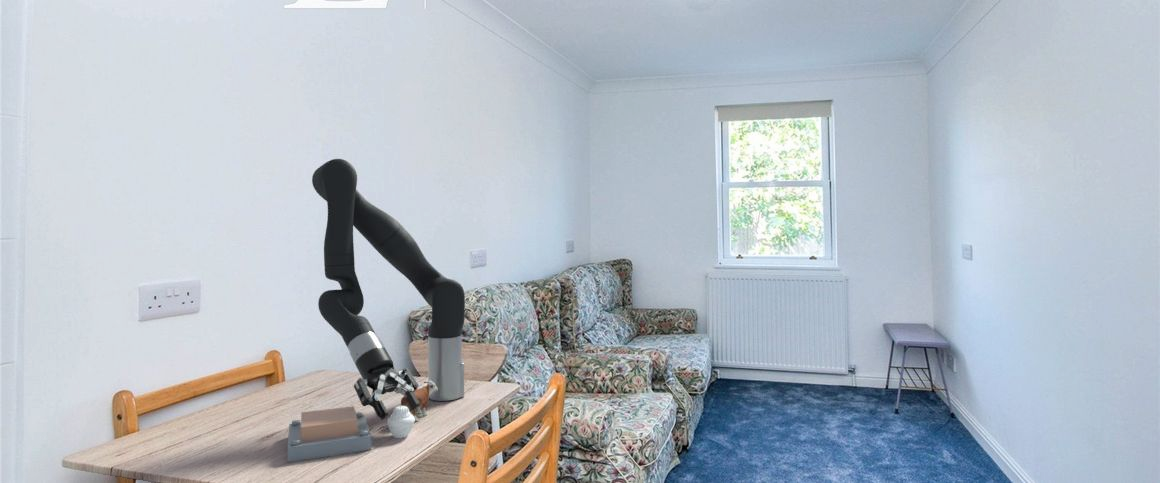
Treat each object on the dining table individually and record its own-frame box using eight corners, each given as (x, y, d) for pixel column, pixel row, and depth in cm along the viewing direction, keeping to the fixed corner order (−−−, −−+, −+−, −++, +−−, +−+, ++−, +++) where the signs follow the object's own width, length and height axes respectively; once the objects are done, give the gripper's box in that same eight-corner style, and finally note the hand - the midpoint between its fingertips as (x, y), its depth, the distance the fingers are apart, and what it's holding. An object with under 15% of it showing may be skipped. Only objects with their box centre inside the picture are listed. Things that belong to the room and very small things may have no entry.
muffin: (384, 434, 135) (384, 403, 135) (411, 429, 138) (411, 400, 138) (389, 442, 130) (389, 411, 130) (417, 437, 133) (417, 407, 133)
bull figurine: (440, 410, 153) (440, 379, 153) (409, 426, 140) (409, 392, 140) (426, 408, 154) (426, 377, 154) (394, 424, 142) (394, 391, 142)
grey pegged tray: (364, 426, 140) (364, 401, 140) (371, 449, 126) (371, 421, 125) (289, 437, 133) (289, 410, 133) (287, 462, 119) (287, 432, 119)
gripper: (350, 351, 132) (382, 410, 126) (401, 341, 144) (433, 395, 138) (336, 371, 136) (366, 430, 129) (388, 360, 147) (418, 414, 141)
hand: (401, 412), depth 134 cm, fingers open, 8 cm apart
